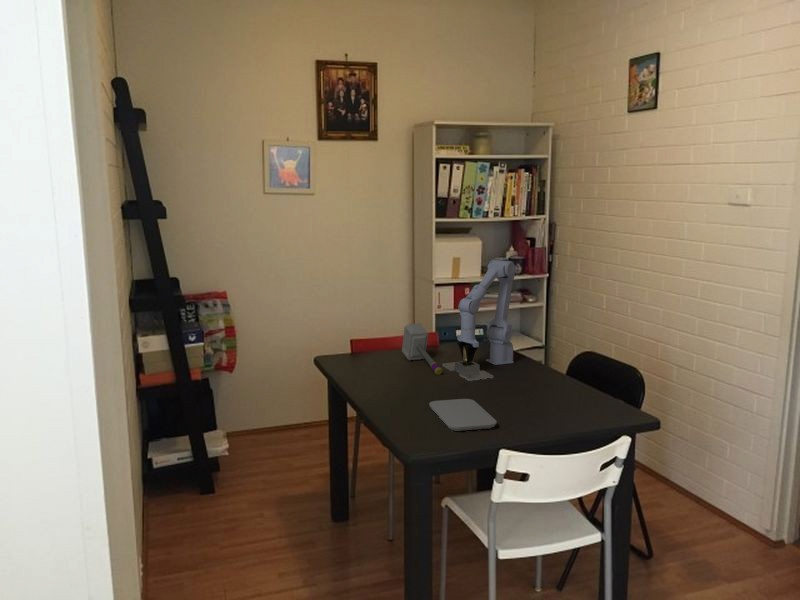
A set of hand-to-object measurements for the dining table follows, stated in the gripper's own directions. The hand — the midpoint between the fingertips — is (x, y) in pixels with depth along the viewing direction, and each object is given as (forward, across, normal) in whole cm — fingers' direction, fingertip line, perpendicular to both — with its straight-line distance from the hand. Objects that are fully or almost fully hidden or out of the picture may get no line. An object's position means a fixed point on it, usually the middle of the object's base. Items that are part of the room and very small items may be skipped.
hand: (467, 360), depth 279 cm
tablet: (+5, +47, -28) cm, 55 cm away
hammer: (+5, -15, -12) cm, 20 cm away
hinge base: (+5, 0, 0) cm, 5 cm away
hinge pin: (+2, 0, 0) cm, 2 cm away
